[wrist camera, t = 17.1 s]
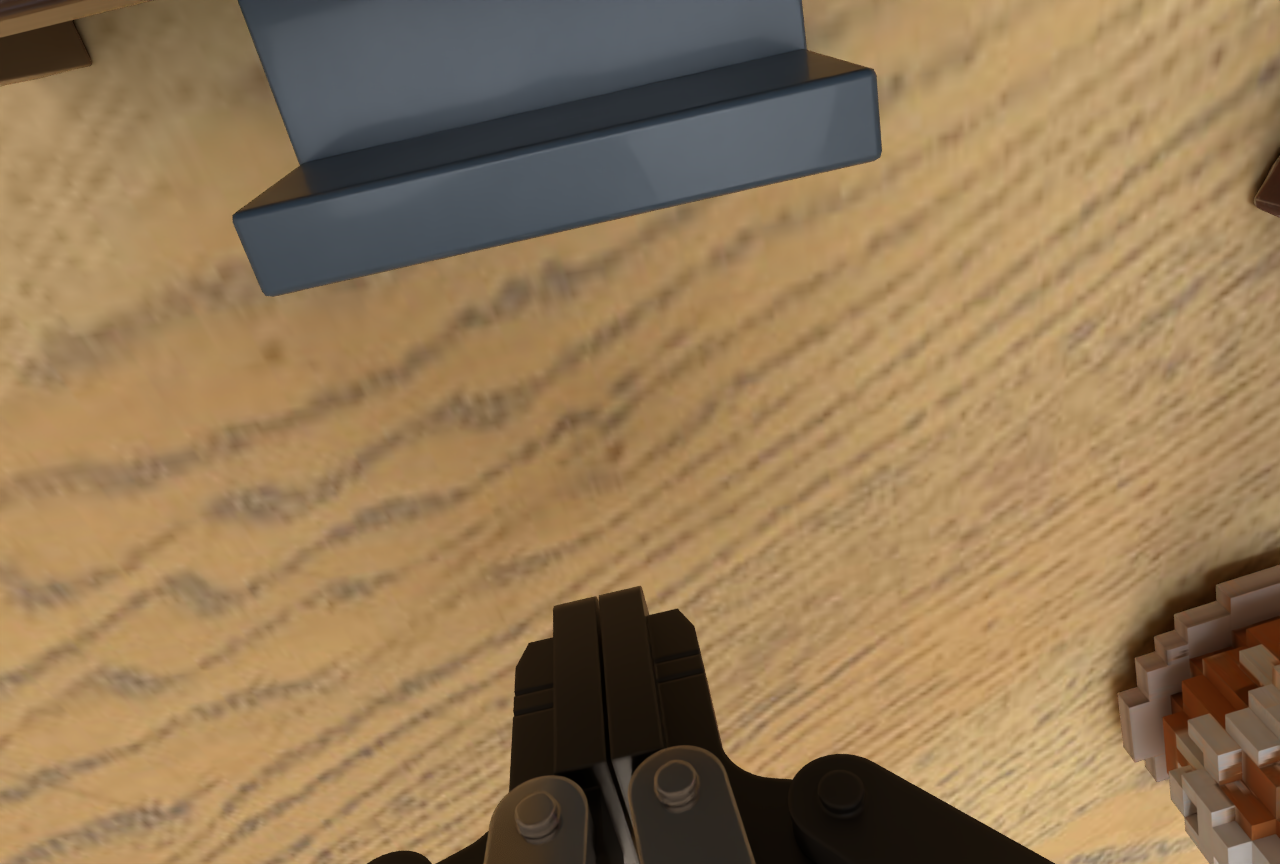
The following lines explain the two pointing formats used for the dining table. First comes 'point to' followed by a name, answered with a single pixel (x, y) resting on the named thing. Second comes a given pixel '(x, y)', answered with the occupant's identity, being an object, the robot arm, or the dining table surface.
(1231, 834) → the candy apple
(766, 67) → the chair
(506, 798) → the robot arm
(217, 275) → the dining table surface
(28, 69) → the desk
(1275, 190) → the box
